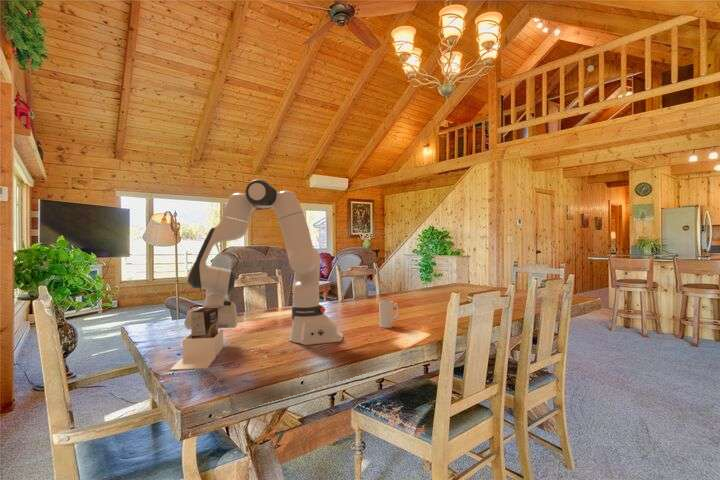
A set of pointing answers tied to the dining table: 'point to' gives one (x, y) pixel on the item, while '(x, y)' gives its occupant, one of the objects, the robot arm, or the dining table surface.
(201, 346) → the box
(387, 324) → the mug
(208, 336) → the coffee box
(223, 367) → the dining table surface
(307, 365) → the dining table surface
